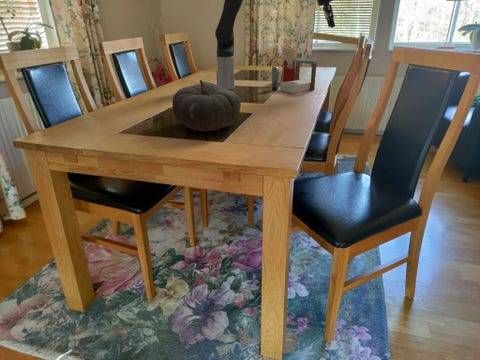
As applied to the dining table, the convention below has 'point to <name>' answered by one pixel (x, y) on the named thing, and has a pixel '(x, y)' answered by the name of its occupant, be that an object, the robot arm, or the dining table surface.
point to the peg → (274, 78)
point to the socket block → (295, 86)
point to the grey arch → (313, 72)
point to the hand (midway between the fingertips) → (331, 26)
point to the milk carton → (288, 66)
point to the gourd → (206, 107)
